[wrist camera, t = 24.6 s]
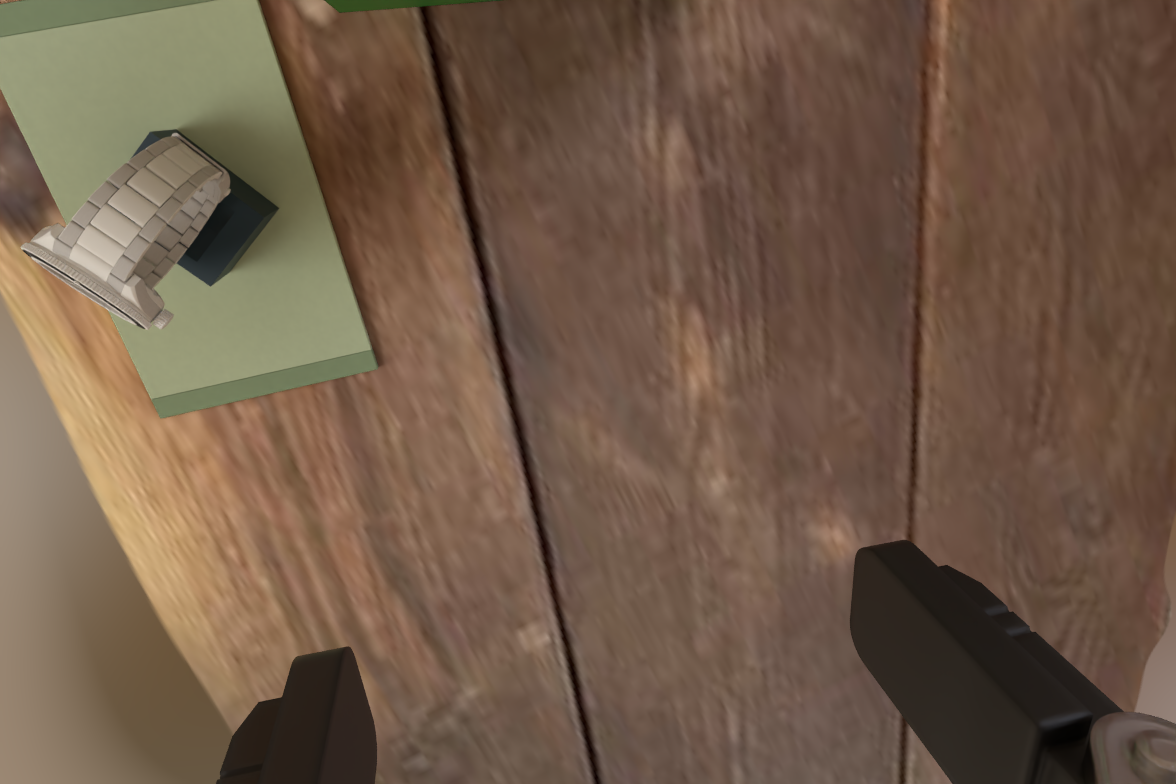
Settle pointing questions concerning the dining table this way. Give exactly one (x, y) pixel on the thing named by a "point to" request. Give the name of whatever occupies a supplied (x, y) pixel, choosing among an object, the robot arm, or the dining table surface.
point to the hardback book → (390, 4)
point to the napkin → (231, 136)
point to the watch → (154, 228)
